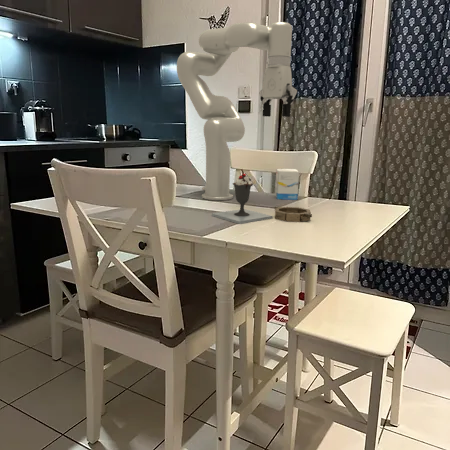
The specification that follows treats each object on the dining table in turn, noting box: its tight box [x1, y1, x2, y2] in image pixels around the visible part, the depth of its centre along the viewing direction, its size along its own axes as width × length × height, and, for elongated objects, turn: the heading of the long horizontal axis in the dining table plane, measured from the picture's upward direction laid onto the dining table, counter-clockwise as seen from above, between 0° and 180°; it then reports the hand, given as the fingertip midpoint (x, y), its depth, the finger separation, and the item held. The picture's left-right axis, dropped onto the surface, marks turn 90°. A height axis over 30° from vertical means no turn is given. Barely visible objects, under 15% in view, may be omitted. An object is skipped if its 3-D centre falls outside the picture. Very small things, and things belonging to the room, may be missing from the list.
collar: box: [274, 206, 313, 223], centre depth 141 cm, size 15×11×2 cm
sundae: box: [232, 168, 254, 216], centre depth 139 cm, size 7×7×15 cm
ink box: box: [274, 168, 300, 201], centre depth 177 cm, size 9×8×12 cm
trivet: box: [211, 208, 274, 225], centre depth 141 cm, size 14×14×1 cm
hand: (276, 116), depth 148 cm, fingers open, 9 cm apart
